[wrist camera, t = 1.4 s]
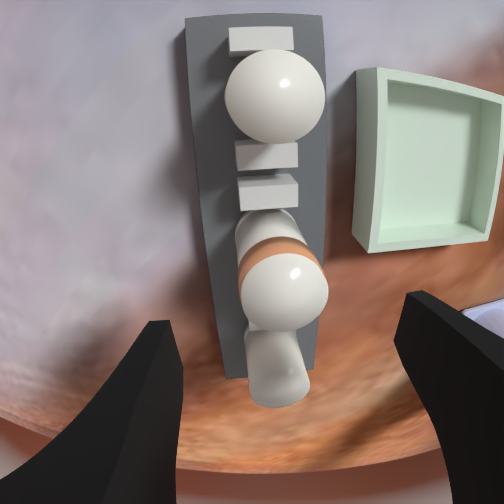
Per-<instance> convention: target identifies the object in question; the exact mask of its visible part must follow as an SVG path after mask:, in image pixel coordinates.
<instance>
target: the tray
mask: <svg viewBox="0 0 504 504" xmlns="http://www.w3.org/2000/svg"><path fill="white" fill-rule="evenodd" d="M356 101H357V131H356V169H355V190H354V206H353V220H352V232H351V234H352V235H353V236H354V237H355V238H356V240H357V241H358V242H359V243H360V244H361V246H362V247H363V248H364V249H365V250H366V252H367V253H376V252H386V251H396V250H405V249H415V248H424V247H434V246H443V245H452V244H461V243H470V242H479V241H488V237H489V233H490V229H491V225H492V220H493V216H494V211H495V206H496V201H497V195H498V189H499V183H500V176H501V169H502V161H503V153H504V96H501V95H498V94H495V93H492V92H489V91H485V90H482V89H479V88H475V87H472V86H468V85H464V84H461V83H457V82H453V81H449V80H445V79H440V78H436V77H431V76H426V75H421V74H416V73H411V72H405V71H399V70H393V69H386V68H379V67H375V68H367V69H359V70H356Z"/></svg>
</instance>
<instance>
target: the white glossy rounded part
mask: <svg viewBox="0 0 504 504" xmlns="http://www.w3.org/2000/svg"><path fill="white" fill-rule="evenodd" d="M224 100H225V105H226V108H227V111H228V113H229V114H230V116H231V118H232V120H233V121H234V123H235V124H236V125H237V127H238V128H239V129H240V130H241V131H242V132H244V133H245V134H246V135H248V136H249V137H251V138H253V139H255V140H257V141H260V142H264V143H269V144H284V143H289V142H292V141H295V140H297V139H299V138H301V137H303V136H304V135H306V134H307V133H309V132H310V131H311V130H312V129H313V128H314V126H315V125H316V124H317V122H318V121H319V119H320V117H321V115H322V112H323V109H324V104H325V91H324V86H323V83H322V80H321V78H320V76H319V74H318V72H317V71H316V70H315V68H314V67H313V66H312V65H311V64H310V63H309V62H308V61H307V60H305V59H304V58H303V57H301V56H299V55H297V54H295V53H293V52H290V51H286V50H280V49H269V50H263V51H259V52H256V53H254V54H252V55H250V56H248V57H246V58H245V59H244V60H242V61H241V62H240V63H239V64H238V65H237V66H236V68H235V69H234V70H233V72H232V73H231V75H230V77H229V80H228V83H227V85H226V88H225V94H224Z"/></svg>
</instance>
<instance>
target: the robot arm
mask: <svg viewBox="0 0 504 504" xmlns="http://www.w3.org/2000/svg"><path fill="white" fill-rule="evenodd" d="M394 343H395V346H396V349H397V351H398V354H399V357H400V359H401V362H402V364H403V367H404V369H405V371H406V373H407V374H408V376H409V378H410V380H411V382H412V384H413V386H414V388H415V389H416V391H417V393H418V395H419V397H420V399H421V401H422V403H423V405H424V407H425V409H426V411H427V412H428V414H429V416H430V419H431V421H432V423H433V425H434V428H435V431H436V433H437V436H438V439H439V442H440V445H441V449H442V452H443V456H444V459H445V463H446V467H447V471H448V476H449V481H450V486H451V492H452V500H453V504H504V299H501V300H497V301H494V302H491V303H487V304H483V305H480V306H476V307H473V308H469V309H465V310H463V311H462V312H461V313H460V312H459V311H457V310H456V309H454V308H452V307H451V306H449V305H448V304H446V303H444V302H443V301H441V300H439V299H438V298H436V297H434V296H432V295H430V294H429V293H427V292H425V291H423V290H421V291H415V292H409V293H407V294H406V298H405V302H404V306H403V309H402V313H401V317H400V320H399V324H398V327H397V331H396V334H395V338H394ZM182 402H183V366H182V362H181V359H180V356H179V352H178V349H177V345H176V342H175V338H174V335H173V331H172V327H171V324H170V320H160V321H149V322H148V323H147V324H146V326H145V327H144V329H143V330H142V332H141V333H140V334H139V336H138V337H137V339H136V340H135V342H134V343H133V345H132V346H131V348H130V349H129V350H128V352H127V353H126V355H125V356H124V358H123V359H122V360H121V362H120V363H119V365H118V366H117V367H116V369H115V370H114V371H113V373H112V374H111V376H110V377H109V378H108V380H107V381H106V382H105V383H104V385H103V386H102V387H101V388H100V390H99V391H98V392H97V393H96V395H95V396H94V397H93V398H92V400H91V401H90V402H89V403H88V404H87V405H86V407H85V408H84V409H83V410H82V411H81V412H80V413H79V414H78V416H77V417H76V418H75V419H74V420H73V421H72V422H71V423H70V424H69V425H68V426H67V427H66V428H65V429H64V430H63V431H62V432H61V433H60V434H59V435H58V436H56V437H55V438H54V439H53V440H52V441H51V442H50V443H49V444H48V445H47V446H45V447H44V448H43V449H42V450H41V451H40V452H38V453H37V454H36V455H35V456H33V457H32V458H31V459H30V460H29V461H27V462H26V463H24V464H23V465H22V466H20V467H19V468H17V469H16V470H15V471H13V472H12V473H10V474H9V475H7V476H6V477H4V478H2V479H0V504H176V482H175V469H176V455H177V446H178V436H179V428H180V419H181V411H182Z"/></svg>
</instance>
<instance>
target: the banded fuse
mask: <svg viewBox="0 0 504 504" xmlns="http://www.w3.org/2000/svg"><path fill="white" fill-rule="evenodd" d="M235 243H236V250H237V260H238V287H239V297H240V301H241V304H242V307H243V311H244V313H245V315H246V317H247V318H248V319H249V321H251V322H252V323H253V324H254V325H255V326H257V327H259V328H261V329H263V330H267V331H271V332H288V331H293V330H296V329H299V328H302V327H304V326H306V325H307V324H309V323H310V322H312V321H313V320H314V319H315V318H316V317H317V316H318V315H319V314H320V313H321V312H322V310H323V309H324V307H325V305H326V302H327V299H328V285H327V281H326V278H325V274H324V272H323V270H322V268H321V266H320V264H319V262H318V260H317V259H316V257H315V255H314V253H313V251H312V250H311V249H310V248H309V247H308V245H307V243H306V241H305V240H304V238H303V236H302V234H301V232H300V230H299V228H298V226H297V224H296V222H295V220H294V218H293V217H292V215H291V214H290V213H289V212H288V211H287V210H286V209H285V208H274V209H260V210H248V211H245V212H244V213H243V214H242V215H241V216H240V218H239V219H238V221H237V224H236V227H235Z"/></svg>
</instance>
